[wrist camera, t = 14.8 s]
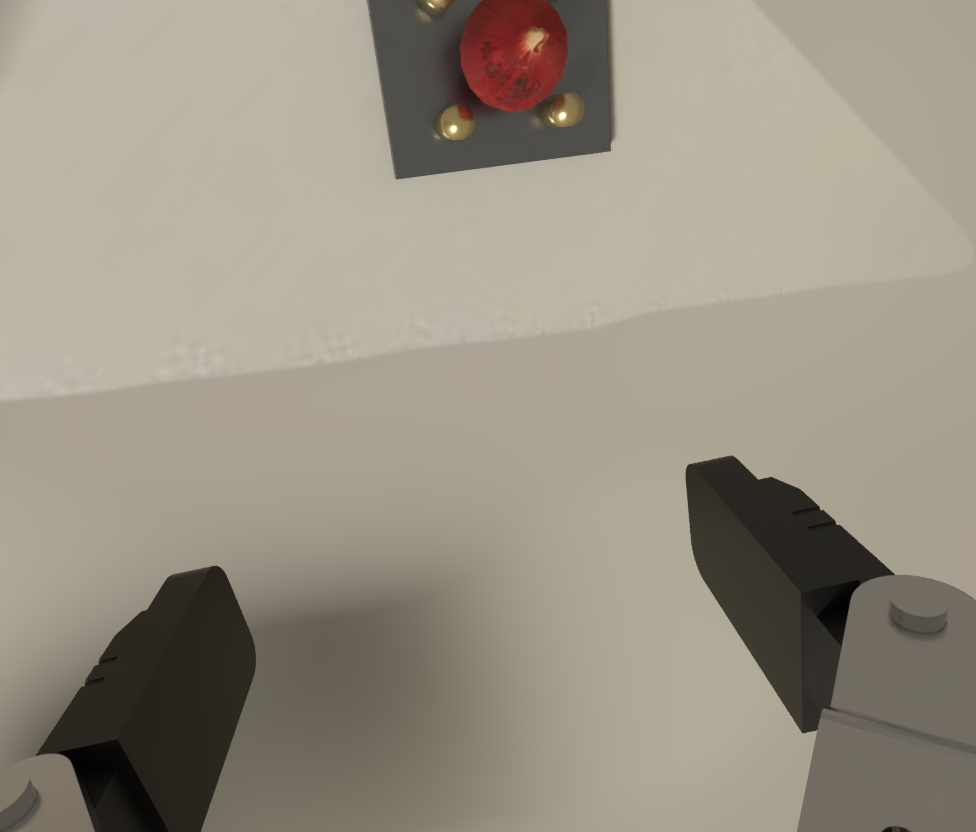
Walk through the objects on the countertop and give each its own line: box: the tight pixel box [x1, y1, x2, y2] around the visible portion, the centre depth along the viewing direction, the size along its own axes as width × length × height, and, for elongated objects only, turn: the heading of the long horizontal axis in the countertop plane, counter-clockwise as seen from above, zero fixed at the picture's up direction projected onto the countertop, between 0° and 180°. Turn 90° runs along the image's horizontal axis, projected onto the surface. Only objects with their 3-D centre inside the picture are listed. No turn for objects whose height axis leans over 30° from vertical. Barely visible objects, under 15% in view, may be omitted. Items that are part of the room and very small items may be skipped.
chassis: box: [367, 0, 611, 179], centre depth 38 cm, size 14×12×4 cm
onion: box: [460, 0, 568, 112], centre depth 35 cm, size 6×6×8 cm
